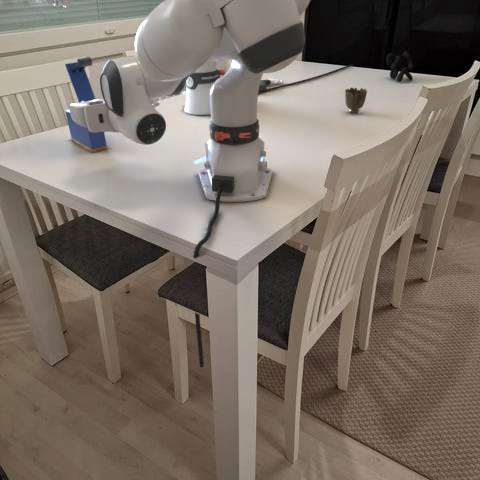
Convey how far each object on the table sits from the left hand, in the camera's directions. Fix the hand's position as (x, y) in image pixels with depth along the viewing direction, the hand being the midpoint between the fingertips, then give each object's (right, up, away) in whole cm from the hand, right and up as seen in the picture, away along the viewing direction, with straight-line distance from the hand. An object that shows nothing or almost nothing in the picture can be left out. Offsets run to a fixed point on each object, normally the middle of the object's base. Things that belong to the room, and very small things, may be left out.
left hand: (62, 5), depth 116 cm
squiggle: (+118, +11, +84) cm, 146 cm away
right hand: (+11, -25, -1) cm, 27 cm away
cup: (+87, -16, +42) cm, 98 cm away
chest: (0, -32, +20) cm, 38 cm away
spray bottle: (+55, +4, +75) cm, 93 cm away
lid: (+2, -19, +9) cm, 21 cm away
